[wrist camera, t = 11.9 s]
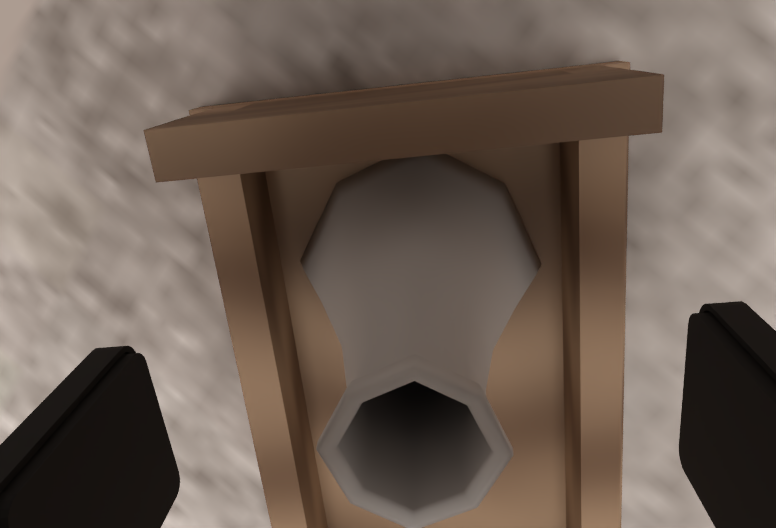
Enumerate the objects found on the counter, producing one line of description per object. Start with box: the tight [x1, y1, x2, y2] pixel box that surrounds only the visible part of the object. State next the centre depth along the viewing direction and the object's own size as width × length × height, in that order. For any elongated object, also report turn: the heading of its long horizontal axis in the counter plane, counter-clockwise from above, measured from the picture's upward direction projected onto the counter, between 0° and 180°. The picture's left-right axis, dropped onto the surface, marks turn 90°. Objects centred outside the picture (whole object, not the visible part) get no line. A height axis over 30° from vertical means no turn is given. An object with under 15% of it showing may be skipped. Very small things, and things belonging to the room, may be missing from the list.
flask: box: [300, 154, 542, 528], centre depth 15 cm, size 7×7×10 cm
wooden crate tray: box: [144, 61, 664, 528], centre depth 20 cm, size 22×13×6 cm, turn 6°
